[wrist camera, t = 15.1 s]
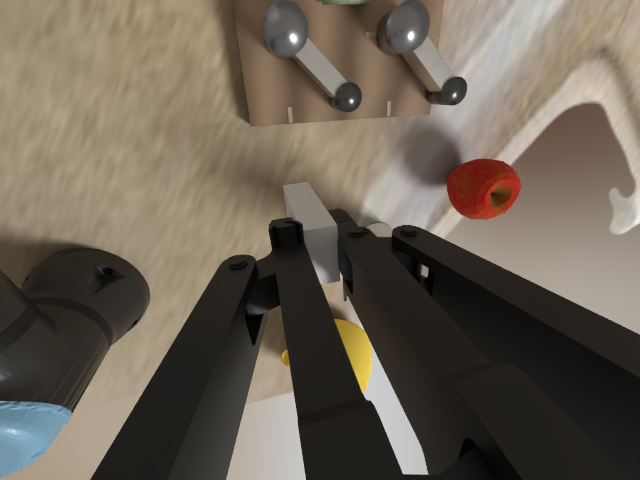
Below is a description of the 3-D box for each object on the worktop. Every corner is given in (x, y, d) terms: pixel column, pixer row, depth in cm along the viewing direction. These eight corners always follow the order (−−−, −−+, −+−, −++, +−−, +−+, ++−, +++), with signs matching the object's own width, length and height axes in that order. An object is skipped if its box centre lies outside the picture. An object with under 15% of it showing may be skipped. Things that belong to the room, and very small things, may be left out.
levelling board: (251, 124, 36) (250, 127, 33) (229, -17, 30) (226, -31, 26) (422, 113, 40) (436, 114, 37) (436, -16, 33) (456, -28, 30)
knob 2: (368, 34, 32) (382, 27, 29) (396, -1, 31) (413, -13, 28) (430, 113, 38) (447, 115, 34) (455, 86, 37) (475, 85, 33)
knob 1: (254, 36, 30) (254, 29, 27) (280, -1, 29) (282, -13, 26) (336, 120, 36) (345, 122, 32) (360, 91, 35) (371, 91, 31)
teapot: (253, 335, 53) (251, 406, 41) (309, 281, 50) (325, 341, 38) (325, 373, 62) (341, 440, 50) (377, 329, 59) (407, 389, 47)
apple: (451, 211, 48) (497, 239, 39) (419, 185, 45) (461, 209, 36) (488, 170, 46) (546, 189, 37) (457, 139, 43) (513, 152, 33)
